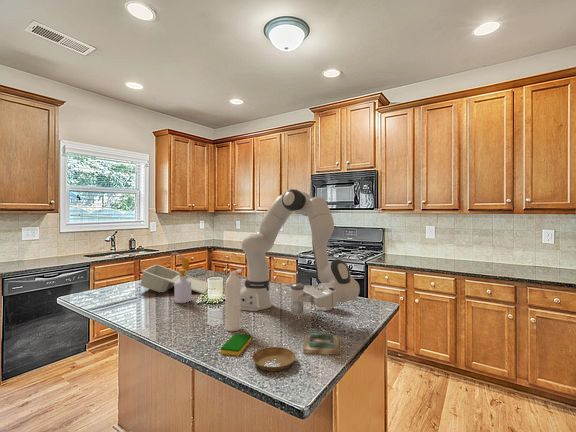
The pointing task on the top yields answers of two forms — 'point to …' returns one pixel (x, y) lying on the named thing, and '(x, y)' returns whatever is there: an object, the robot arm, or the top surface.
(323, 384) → the top surface
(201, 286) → the kitchen sink
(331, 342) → the post base
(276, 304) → the top surface
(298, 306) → the salt shaker
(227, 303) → the white spray bottle
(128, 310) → the top surface
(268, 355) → the plant saucer
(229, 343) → the dish sponge
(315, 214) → the robot arm
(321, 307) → the jar
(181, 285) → the soap bottle
